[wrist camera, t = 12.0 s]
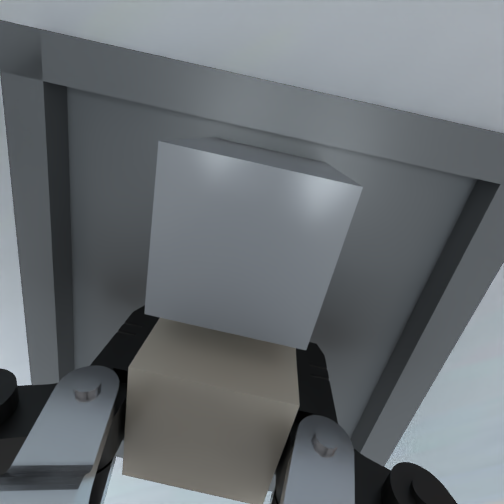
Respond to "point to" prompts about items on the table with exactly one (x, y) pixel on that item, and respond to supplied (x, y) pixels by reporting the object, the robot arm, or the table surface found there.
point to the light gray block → (245, 238)
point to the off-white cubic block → (209, 410)
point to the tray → (264, 136)
